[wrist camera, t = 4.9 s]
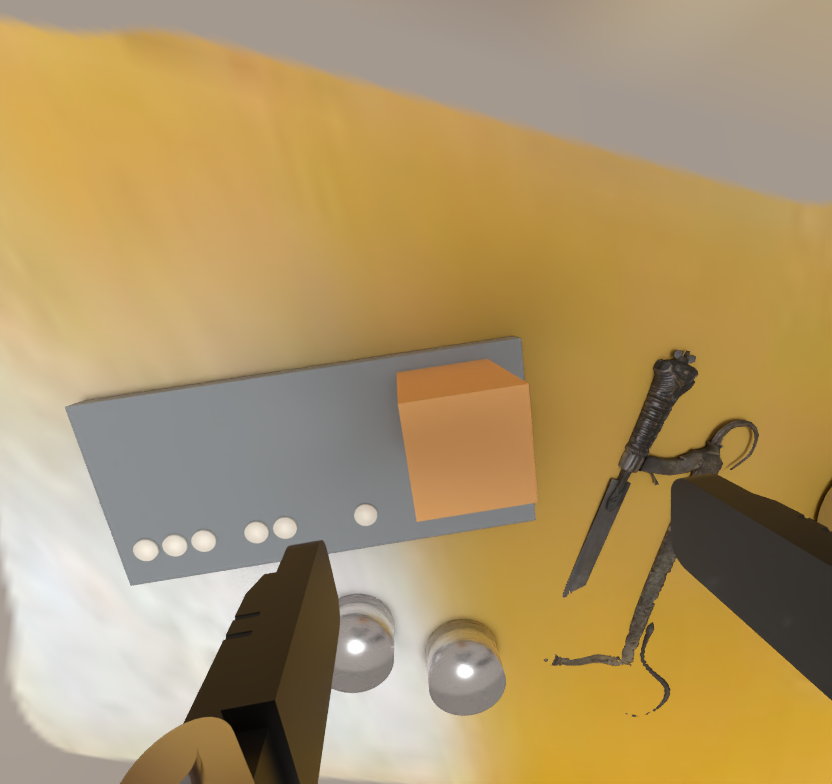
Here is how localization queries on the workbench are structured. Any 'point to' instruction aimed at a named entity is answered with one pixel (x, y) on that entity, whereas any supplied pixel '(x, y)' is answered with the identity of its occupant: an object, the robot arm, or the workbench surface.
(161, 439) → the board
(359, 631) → the steel cylinder
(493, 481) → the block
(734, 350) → the workbench surface
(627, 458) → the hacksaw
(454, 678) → the steel cylinder
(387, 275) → the workbench surface
